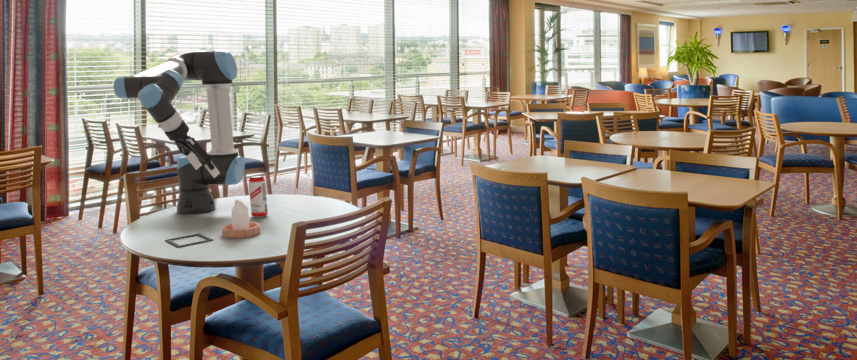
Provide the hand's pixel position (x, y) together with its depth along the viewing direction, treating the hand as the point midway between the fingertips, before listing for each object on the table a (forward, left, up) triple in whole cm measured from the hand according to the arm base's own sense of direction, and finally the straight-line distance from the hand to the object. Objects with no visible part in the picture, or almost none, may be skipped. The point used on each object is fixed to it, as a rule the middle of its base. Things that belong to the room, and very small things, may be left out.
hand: (207, 171), depth 240 cm
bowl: (+14, +5, -22) cm, 26 cm away
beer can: (-6, +22, -22) cm, 31 cm away
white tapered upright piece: (+14, +5, -21) cm, 26 cm away
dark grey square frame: (+9, -12, -22) cm, 26 cm away
